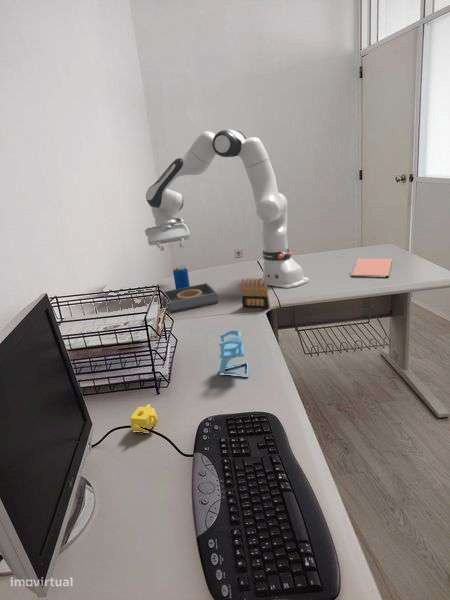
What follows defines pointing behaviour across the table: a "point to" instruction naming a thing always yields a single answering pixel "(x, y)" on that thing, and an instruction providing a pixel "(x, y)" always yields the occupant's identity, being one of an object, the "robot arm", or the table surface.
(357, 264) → the notebook
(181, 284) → the beverage can
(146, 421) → the yellow block with hole
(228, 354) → the chair
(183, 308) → the tray
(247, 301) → the ammunition clip
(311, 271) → the table surface
